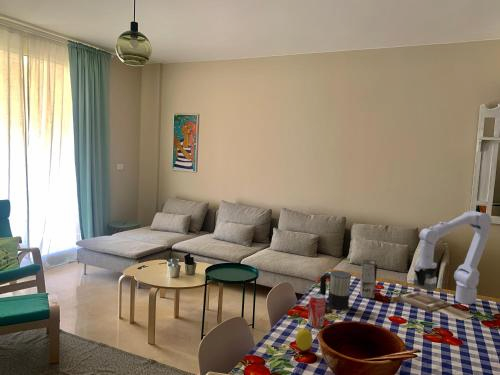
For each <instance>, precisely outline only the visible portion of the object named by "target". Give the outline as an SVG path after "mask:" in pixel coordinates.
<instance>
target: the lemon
mask: <svg viewBox="0 0 500 375" xmlns="http://www.w3.org/2000/svg"><path fill="white" fill-rule="evenodd" d="M295 343H296V346H297V347H298V349H300V350H301V351H302V352H305V351H307V350H309V349H310V348H311V346H312V345H313V335H312V332H311V331H310V330H309V329H308V328H306V327H303V328H300V329H299V330H298V331H297V332H296V336H295Z"/></svg>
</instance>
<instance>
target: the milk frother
mask: <svg viewBox="0 0 500 375" xmlns="http://www.w3.org/2000/svg"><path fill="white" fill-rule="evenodd" d="M351 277H352V274H351V273H349V272H346V271H342V270H332V271H330V273H329V272H327V273H324V274H323V275H321V277H320V279H319V282H320V283H319V284H320V285H319V290H320V291H319V294H322V295H324V296H325V297H326V295H327V294H326V293H327V292H326V291H327V279H329V286H328V297H327V299H328V302H326V304H325V313H328V312H330V311H331V310H332V309H334V310H340V311H341V310H342V311H344V310H348V309H349V308H350V305H349V301H350V291H351V290H350V288H351Z"/></svg>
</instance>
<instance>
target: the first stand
mask: <svg viewBox="0 0 500 375" xmlns="http://www.w3.org/2000/svg"><path fill="white" fill-rule="evenodd" d="M436 312H439V313H441V314H444V315H445V316H449V317H450V318H451V317H452V318H454V319H457V320H460V321H464V320H467V319H469V318H471V317H474V316H476V314H473V313H471V312H467V311H465V310H462V309H459V308H456V307H453V306H452V305H451V306H447V307H444V308H441V309H438V310H436Z"/></svg>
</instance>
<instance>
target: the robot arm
mask: <svg viewBox="0 0 500 375" xmlns="http://www.w3.org/2000/svg"><path fill="white" fill-rule="evenodd" d="M492 222H493V220H492V217H491V216H490V214H488V213H487V212H479V211H476V210H473V209H471V210H470V209H469V210H468V211H465V212H463V214H461V215H460V216H458V217H456V218H454V219H452V220H450V221H448V222H446V221H439V222H438V224H436V225H432V226H429V228H423V229H421V231H420V233H418V237H419V239H420V248H419V249H420V252H419V262H418V263H417V264H415V265H414V269H413V271H414V274H416V276H417V281H418V285H421V286H423V284H424V280H425V276H426V274H428V275H431V276H434V275H435V274H436V273H437V271H438V270H437V267H438V266H437V265H438V263H437V262H434V255H435V246H436V243H438V240H439V239H440V238H442V237H444V236H447V235H449V234H450V233H451V232H452V230H453V229H457V228H459V227H461V226H462V227H463V226H464V225H469V226H470V227H471V228H472V229H473V230H474V235H473V237H472V241H471V243H470V245H469V249H468V252H467V254H466V257H465V260H464V261H463V262H464V263H462V264H460V265H459V266H458V267H457V269H456V270H455V271H454V274H453V278H454V280H455V284H456V288H455V300H454V301H455V302H458V303H461V304H465V305H472V304H475V305H478V303H477V296H478V290H477V286H478V285H479V282H480V275H481V274H480V272H479V270H478V265H479V263H480V261H481V258H482V255H483V252H484V250H485V247H486V244H487V242H488V239H489V236H490V232H491V225H492Z"/></svg>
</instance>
